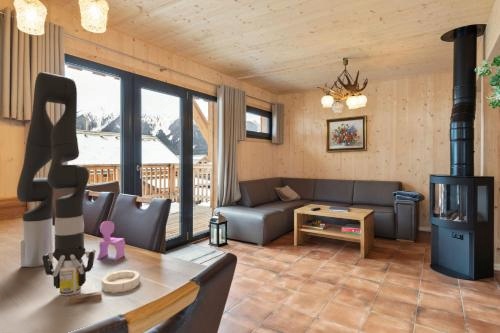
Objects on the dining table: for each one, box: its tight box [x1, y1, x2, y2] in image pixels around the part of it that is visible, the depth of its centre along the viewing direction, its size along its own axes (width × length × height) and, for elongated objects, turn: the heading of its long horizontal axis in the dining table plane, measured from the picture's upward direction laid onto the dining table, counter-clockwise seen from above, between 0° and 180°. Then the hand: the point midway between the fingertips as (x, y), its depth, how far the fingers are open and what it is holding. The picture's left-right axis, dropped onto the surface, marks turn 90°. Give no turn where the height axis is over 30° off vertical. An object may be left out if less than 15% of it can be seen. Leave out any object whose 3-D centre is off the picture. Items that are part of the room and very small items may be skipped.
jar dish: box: [101, 269, 141, 294], centre depth 94 cm, size 11×11×3 cm
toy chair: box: [96, 220, 126, 262], centre depth 120 cm, size 8×9×15 cm
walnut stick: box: [68, 290, 103, 307], centre depth 83 cm, size 8×2×2 cm, turn 117°
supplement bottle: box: [59, 260, 82, 296], centre depth 88 cm, size 6×6×10 cm
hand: (70, 286), depth 88 cm, fingers closed on supplement bottle, 5 cm apart
